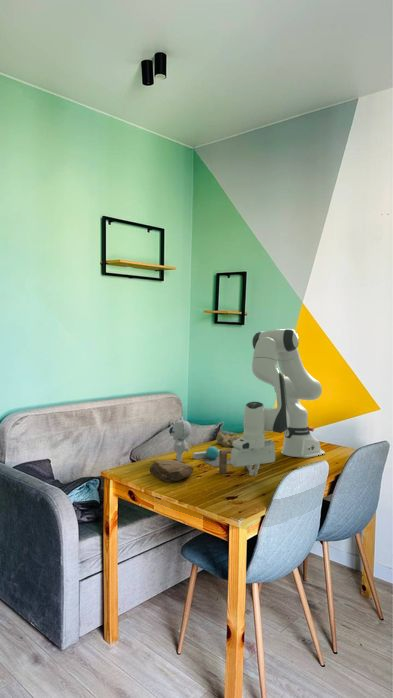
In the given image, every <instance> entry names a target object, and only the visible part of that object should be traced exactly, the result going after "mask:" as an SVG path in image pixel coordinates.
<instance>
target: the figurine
mask: <svg viewBox="0 0 393 698" xmlns="http://www.w3.org/2000/svg"><path fill="white" fill-rule="evenodd" d="M216 437H217V438H216V442H217V443H218V444H219V445H222V446H223V447H225V448H229V447H232V448H233V447H234V446H233V445H232V442H233V441H235V440H237V439H239V438H241V437H242V436H241V435H232V436H231V435H230V434H229V433H227V434H223V433H222V431H218V432H217V435H216Z"/></svg>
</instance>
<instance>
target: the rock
mask: <svg viewBox="0 0 393 698" xmlns="http://www.w3.org/2000/svg"><path fill="white" fill-rule="evenodd" d="M148 469H149V470H148V471H149V472H150V474H152V475H154V476H156V477H157V478H158V479H159V480H161V481H164V482H165V483H172V482H179V481H181V480H183V479H186V478H189V477H191V476H192V474H193V471H194V467H193V466H192V465H189V464H187V463H185V462H182V461H181V462H179V461H177V460H176V459H175V460H173V459H167V460H164V459H163V460H155V461H154V462H153V463H152V465H150V467H149V468H148Z"/></svg>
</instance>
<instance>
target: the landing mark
mask: <svg viewBox="0 0 393 698" xmlns="http://www.w3.org/2000/svg"><path fill="white" fill-rule="evenodd" d="M201 461H202V462H204V463H206V464H208V465H209V466H212V467H213V468H215V467H219V457H217V458H216V459H209V458H203V459H201ZM227 466H233V465H232V464H231V459H228V458H227Z"/></svg>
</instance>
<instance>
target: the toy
mask: <svg viewBox="0 0 393 698" xmlns="http://www.w3.org/2000/svg"><path fill="white" fill-rule="evenodd" d="M191 433H192V425H191V424H190V422H189V421H187V420H184V417H183V416H180V417H179V420H176V421H175V422H174V423H173V424H172V426H171V427H170V428H169V435H170V436H171V437H173V438H172V440H173V441H174V443H173V446H172V450H173V451H174V452H176V455H175V460H176V461H179V462H182V461H183V453H184V452H187V453H188V452H189V451H190V447H188V446H187V445H188V444H187V442H186V439H187V438H188V437H189V436H190V435H191Z"/></svg>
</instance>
